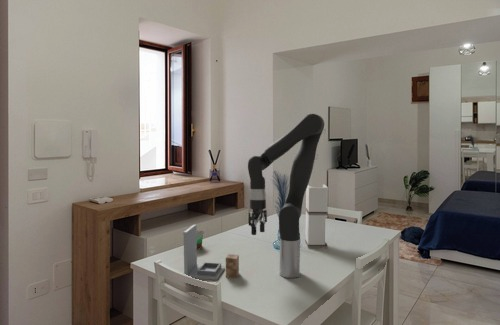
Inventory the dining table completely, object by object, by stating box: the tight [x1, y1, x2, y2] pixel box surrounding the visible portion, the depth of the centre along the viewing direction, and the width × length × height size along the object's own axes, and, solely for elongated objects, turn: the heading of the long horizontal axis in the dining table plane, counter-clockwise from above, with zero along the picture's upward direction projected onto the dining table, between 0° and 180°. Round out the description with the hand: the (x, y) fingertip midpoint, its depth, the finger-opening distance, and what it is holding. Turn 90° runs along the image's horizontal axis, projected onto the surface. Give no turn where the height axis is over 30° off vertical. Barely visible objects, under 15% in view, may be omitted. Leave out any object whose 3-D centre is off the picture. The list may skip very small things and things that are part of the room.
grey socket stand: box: [183, 224, 225, 281], centre depth 165 cm, size 16×13×21 cm
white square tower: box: [304, 184, 329, 249], centre depth 205 cm, size 11×11×35 cm
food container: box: [182, 229, 205, 250], centre depth 200 cm, size 12×6×10 cm, turn 105°
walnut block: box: [225, 253, 240, 279], centre depth 163 cm, size 5×6×9 cm
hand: (258, 233), depth 164 cm, fingers open, 8 cm apart
